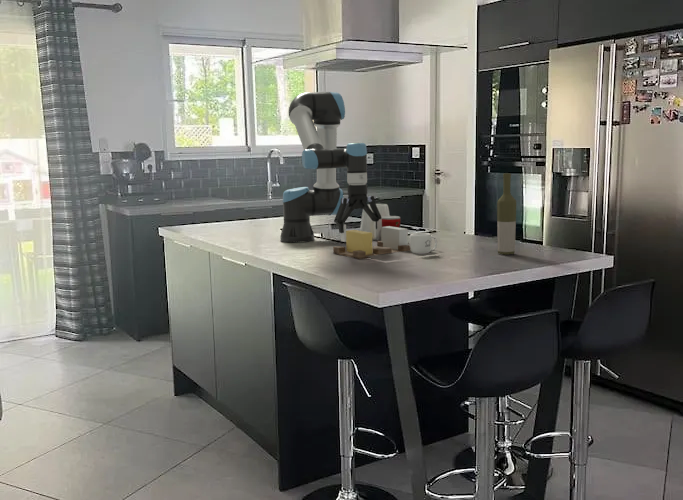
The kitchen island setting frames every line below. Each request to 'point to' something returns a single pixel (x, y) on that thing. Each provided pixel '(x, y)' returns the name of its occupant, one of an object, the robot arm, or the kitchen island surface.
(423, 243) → the mug
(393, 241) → the grey bar
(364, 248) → the ochre bar
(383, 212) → the vase
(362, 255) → the comb rack
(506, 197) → the bottle
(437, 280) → the kitchen island surface
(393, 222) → the canned food
